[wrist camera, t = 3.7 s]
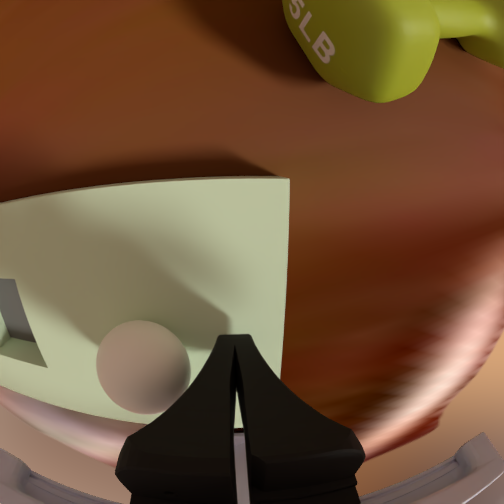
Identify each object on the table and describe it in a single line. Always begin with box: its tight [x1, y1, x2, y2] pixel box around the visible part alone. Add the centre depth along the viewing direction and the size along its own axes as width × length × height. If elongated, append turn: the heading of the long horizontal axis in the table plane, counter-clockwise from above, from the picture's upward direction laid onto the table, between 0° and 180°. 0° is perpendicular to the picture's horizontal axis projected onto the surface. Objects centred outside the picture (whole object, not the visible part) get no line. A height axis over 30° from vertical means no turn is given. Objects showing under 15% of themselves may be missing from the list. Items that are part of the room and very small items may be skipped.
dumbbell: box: [282, 0, 504, 103], centre depth 7 cm, size 16×8×7 cm, turn 117°
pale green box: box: [0, 176, 290, 428], centre depth 9 cm, size 14×24×10 cm, turn 90°
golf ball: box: [96, 320, 191, 415], centre depth 10 cm, size 4×4×4 cm
